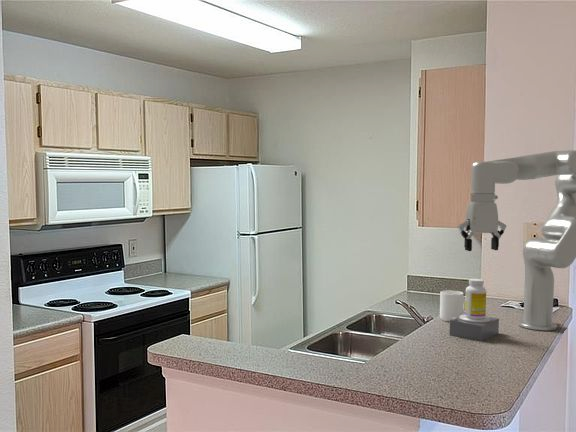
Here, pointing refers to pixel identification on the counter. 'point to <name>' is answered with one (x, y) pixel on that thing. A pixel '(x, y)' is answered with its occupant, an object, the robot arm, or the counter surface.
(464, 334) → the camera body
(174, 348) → the counter surface
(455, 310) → the mug
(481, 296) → the supplement bottle
